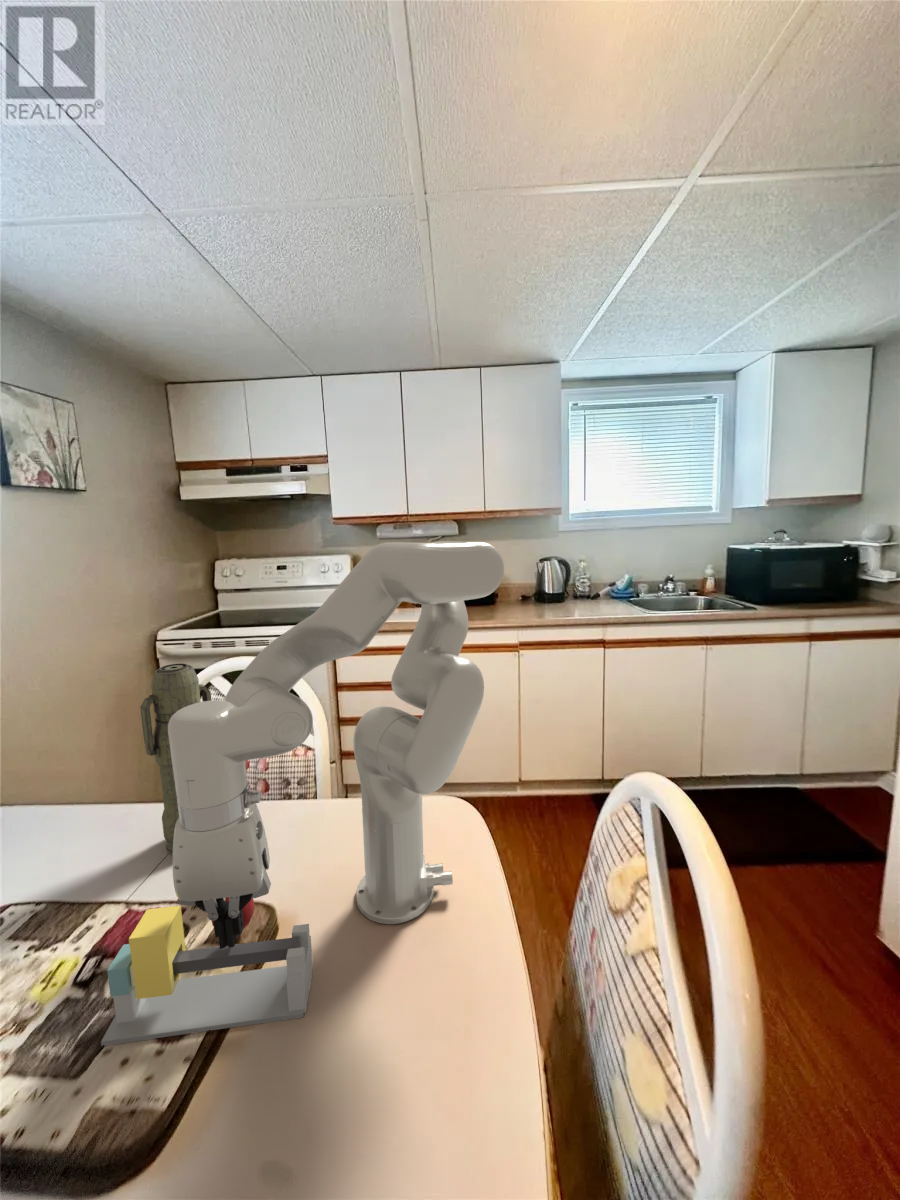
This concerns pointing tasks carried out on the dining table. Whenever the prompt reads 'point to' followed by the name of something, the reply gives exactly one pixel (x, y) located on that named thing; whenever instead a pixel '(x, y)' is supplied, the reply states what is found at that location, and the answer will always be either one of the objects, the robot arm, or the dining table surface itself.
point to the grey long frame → (214, 990)
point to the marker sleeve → (156, 951)
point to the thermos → (168, 696)
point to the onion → (246, 912)
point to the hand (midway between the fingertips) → (230, 938)
